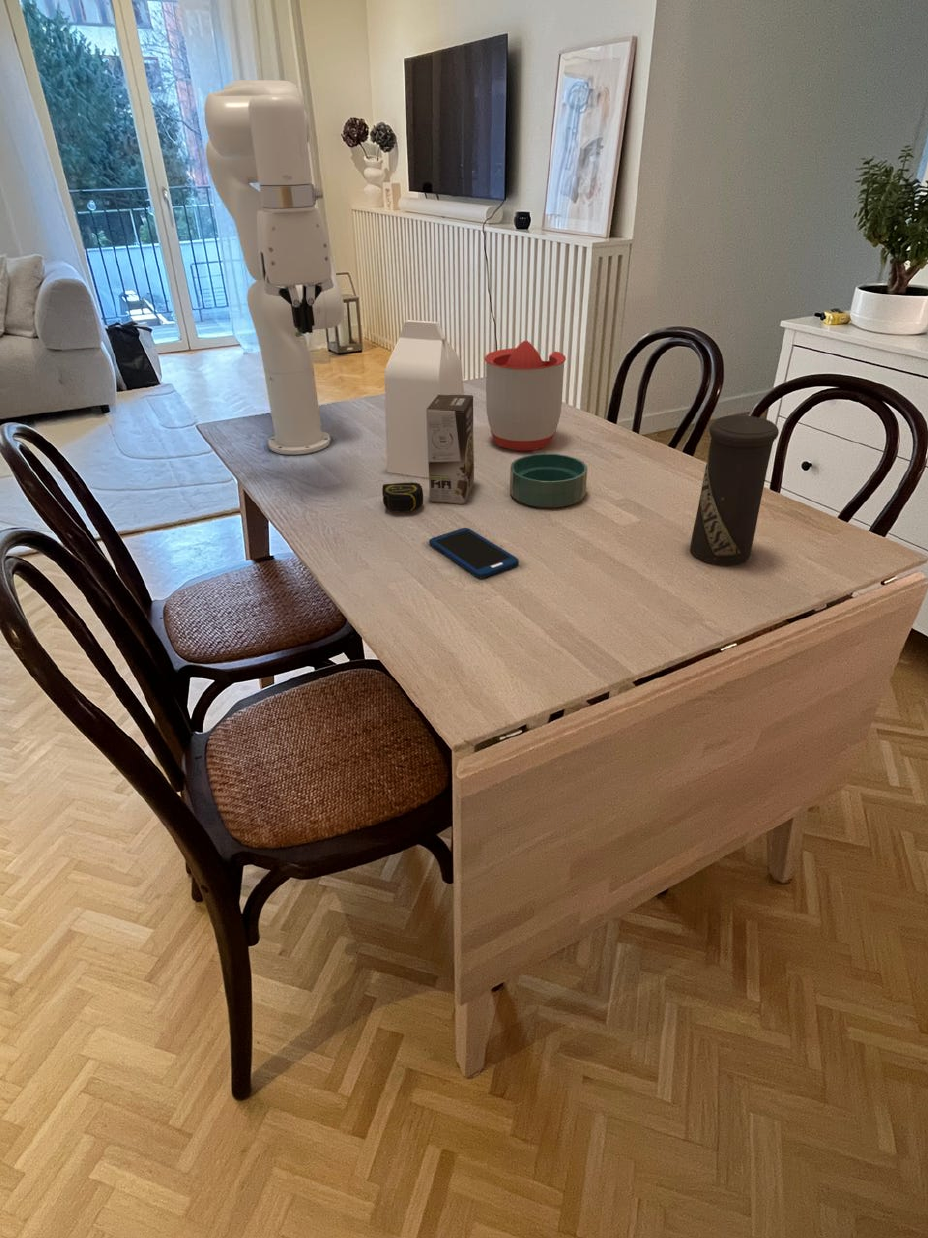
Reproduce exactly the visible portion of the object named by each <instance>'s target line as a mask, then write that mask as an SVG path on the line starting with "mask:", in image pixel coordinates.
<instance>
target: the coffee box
mask: <svg viewBox="0 0 928 1238" xmlns="http://www.w3.org/2000/svg"><path fill="white" fill-rule="evenodd" d="M426 411H427V439H428V463H429V478H428V482H429V483H428V484H429V485H428V487H429V502H437V503H450V504H458V505H459V504H461V505H462V504H465V503H466V501H467V500H468V497H469V495H470V493H471V491H472V489H473V486H474V485H475V451H474V449H475V447H474V437H475V436H474V395H472V394H464V395H437V397H436V398H435V399H434V401H433V402H432V403H431V404H430V405H429V407H428V408H427V409H426Z"/></svg>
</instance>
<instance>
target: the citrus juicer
mask: <svg viewBox="0 0 928 1238" xmlns="http://www.w3.org/2000/svg"><path fill="white" fill-rule="evenodd" d="M484 361H485V406H486V415H487V421H488V426H489V428H490V434H491V436H492V439H493V441H494V443H495V444H496V445H497V446H499V447H501V448H503V449H508V450H513V451H524V452H533V451H534V450H539V449H542V448H546V447H547V446H549V445H550V444H551V443H552V440H553V439H554V437H555V434H556V432H557V431H556V430H557V428H558V424H559V422H560V417H561V414H562V407H563V406H562V405H563V393H564V392H563V391H564V372H565V362H566V361H567V358H566V355H564V353H562V352H558V351H556V350H555V351H553V352H552V353H551V354H549V355H548V360H543V359H542V357H541V355H540V354H539V352H538V351H537V349H536V348H535V347H534V345H532V343H531V342H530V341H528V340H523V341H522V342H520V343H519V344H518V346H517V347H513V348H504V349H499V350H494V351H492V352H489V353H488V354H486V355H485V357H484Z"/></svg>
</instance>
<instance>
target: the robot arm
mask: <svg viewBox="0 0 928 1238" xmlns="http://www.w3.org/2000/svg"><path fill="white" fill-rule="evenodd" d="M308 118H309V117H308V115H307V109H306V104H305V100H304V97H303V95H302V92H301V91H300V90H299V88H298V87H297V86H296V85H295V84H294V83H292V82H290V81H288V80H278V79H275V80H270V79H267V80H264V79H263V80H261V79H260V80H259V79H257V80H256V79H255V80H250V79H239V80H234V81H232V82H230V83H228V84H226V86H225V87H224V88H223V89H222V90H216V91H212V92H210V93H208V94H207V95H206V98H205V101H204V122H205V127H206V128H205V129H206V132H207V136H208V140H207V141H206V144H205V158H206V163H207V167H208V171H209V174H210V178H211V181H212V184H213V185H214V188H215V190H216V192H217V195H218V196H219V198H220V200H221V202H222V203H223V205H224V207H225V208H226V210H227V212H228V214H229V215H230V216H231V218H232V221H233V223H234V226H235V229H236V233H237V237H238V241H239V244H240V245H239V246H240V249H241V252H242V256H243V260H244V264H245V266H246V268H247V272H248V273H249V275H250V277H251V278H252V279H253V280H255V282H253V283H252V284H251V285H250V286H249V287H248V290H247V295H246V301H247V306H248V311H249V314H250V317H251V320H252V323H253V326H254V329H255V333H256V337H257V341H258V345H259V350H260V356H261V361H262V366H263V373H264V379H265V385H266V392H267V397H268V404H269V409H270V410H269V411H270V415H271V416H270V417H271V421H272V427H273V428H272V429H273V433H274V435H273V436H271V437H270V438H269V440H268V442H267V445H268V448H269V450H270V451H272V452H274V453H277V454H280V455H290V456H291V455H292V456H293V455H295V456H296V455H305V454H307V455H308V454H312V453H316V452H319V451H321V450H324V449H326V448H327V447H328V446H329V445H330V444H331V442H332V441H331V436H330V434H329V433H328V432H325V431H323V430H322V423H321V416H320V407H319V399H318V393H317V392H318V391H317V384H316V383H317V382H316V376H315V368H314V361H313V356H312V353H311V351H310V350H309V348H308V347H307V346H306V344H305V343H304V342H302V341H301V340H300V339H299V338H298V337H297V336H296V334H297V333H300V334H302V335H305V334H307V333H308V334H313V333H314V330H315V331H316V330H326V329H333V328H336V327H338V326H339V325H340V324H341V323H342V322H343V320H344V318H345V303H344V297H343V293H342V290H341V286H340V282H339V279H338V276H337V272H336V269H335V265H334V261H333V258H332V255H331V251H330V248H329V242H328V238H327V233H326V229H325V225H324V221H323V220H324V219H323V217H322V214H321V211H320V209H319V208H317V207H316V205H317V201H319V200H322V199H324V192H323V189H322V188H317V187H315V185H314V184H313V179H312V178H313V177H312V169H311V161H310V153H309V152H310V151H309V142H310V123H309V119H308ZM251 184H258V185H259V190H258V188H257V189H256V188H255V187H254V186H253V185H251Z"/></svg>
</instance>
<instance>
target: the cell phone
mask: <svg viewBox="0 0 928 1238" xmlns="http://www.w3.org/2000/svg"><path fill="white" fill-rule="evenodd" d="M428 543H429V545H430V546H431V547H432V548H434V550H437V551H438V552H439V553H441V554H443V555H444V556H445V557H447V558H448V559H450V560H451V561H453V562H454V563H455V564H457V565H458V566H460V567H461V568H463V569H464V570H466V571H467V572H469V573H470V574H471V575H473V576H474V577H476V578H477V579H478V578H479V579H484V578H488V577H489V576H493V575H495V574H498V573H501V572H503V571H506V570H509V569H511V568H513V567H516V566H519V563H520V560H519V558H518V557H516V556H514V555H513V554H512V553H509V552H508V551H507V550H505V549H503V548H502V547H500V546H499V545H497V544H495V543H494V542H492V541H490V540H488V539H487V538H486V537H484V536H482V535H481V534H479V533H477V532H476V531H474V530H472V529H471V528H469V527H461V528H458V529H455V530H452V531H449V532H445V533H443V534H440V535H437V536H434V537H432V538H430V539H429V541H428Z"/></svg>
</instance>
